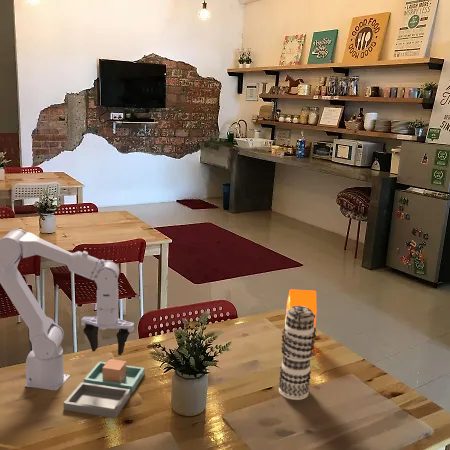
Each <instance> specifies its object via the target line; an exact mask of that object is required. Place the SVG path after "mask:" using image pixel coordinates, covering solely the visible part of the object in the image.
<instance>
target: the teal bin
mask: <svg viewBox="0 0 450 450" xmlns="http://www.w3.org/2000/svg"><path fill="white" fill-rule="evenodd" d="M106 363H107V361H105V362H104V361H98V362H97V363H96V365H95V366H94V367H92V369H91V370H90V372H89V373H88V374H86V376H85V377H84V378H83V382H84V383H91V384H97V385H104V386H110V387H117V388H124V389H130V394H133V393H134V391H135V390H136V388H137V387H138V385H139V384H140V382H141V380H142V379H143V377H144V376H145V372H146V369H145V367H141V366H134V365H133V366H132V365H127V364H126V378H125V380H124V381H123V382H122V383H117V382H110V381H104V380H103V372H102V368H103V366H104V365H105V364H106Z"/></svg>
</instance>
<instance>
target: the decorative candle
mask: <svg viewBox="0 0 450 450" xmlns="http://www.w3.org/2000/svg"><path fill="white" fill-rule="evenodd" d="M286 310H287V309H286ZM286 310H285V320H286V322H284V328H283V330H282V332H281V334H282V335H281V341H282V342H281V345H282V346H281V354H282V361H281V366H280V367H279V369H280V372H279V379H278V380H279V382H278V392H279V394H280V395H281V396H282V397H284V398H285V399H288V400H294V401H301V400H303V399H306V398H308V396H309V391H310V385H311V383H310V380H311V374H312V372H311V359H312V358H313V355H314V353H313V352H312V350H313V351H314V349H315V347H314V344H315V343H316V342H315V338H316V337H317V335H316V333H317V328H316V326H315V327H314V318H315V317H316V318H317V315H316V316H315V314H314V313H313V312H312V311H311V309H309V308H308V307H305V306H293V307H291V308H290V309H289V310H287V311H286ZM286 315H287V317H286ZM285 332H286V333H285ZM312 335H313V336H312ZM284 338H285V339H284Z"/></svg>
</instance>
